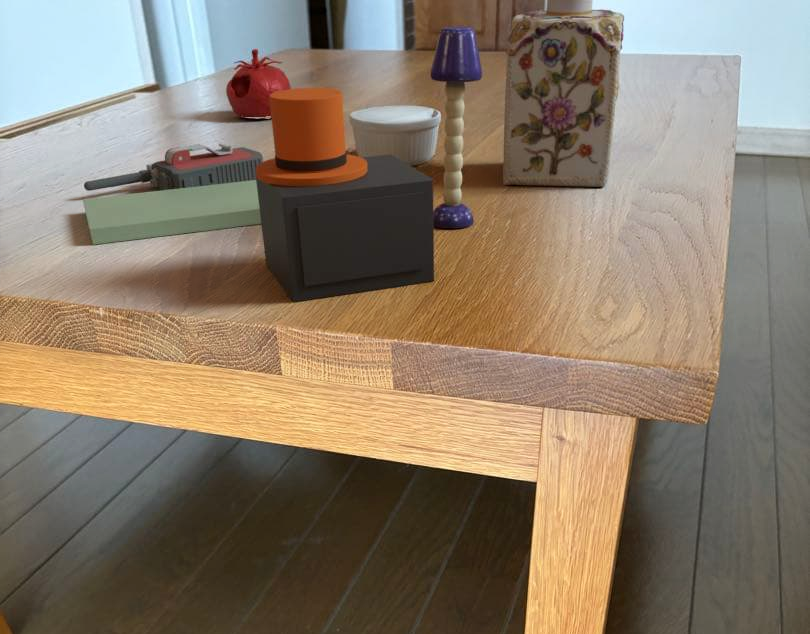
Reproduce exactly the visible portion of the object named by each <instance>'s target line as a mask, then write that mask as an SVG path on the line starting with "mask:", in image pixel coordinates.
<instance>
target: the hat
mask: <svg viewBox="0 0 810 634" xmlns="http://www.w3.org/2000/svg"><path fill="white" fill-rule="evenodd" d="M269 99H270V109H271V128H272V136H273V145H274V146H273V147H274V157H273V158H269V159H267V160H263V162H262V163H260V164H258V165H257V166H256V168H255V169H256V177H257V179H259V180H260V181H262V182H265V183H268V184H273V185H280V186H294V187H307V186H323V185H331V184H338V183H343V182H347V181H351V180H354V179H357V178H360V177H362V176H363V175H365V174H366V173H367V171H368V166H367V161H366V160H365V159H363V158H361V157H359V156H358V155H355V154H349V153H348V154H347V150H346V138H345V137H346V135H345V122H344V121H345V120H344V106H343V93H342V91H341V90H339V89H336V88H331V87H299V88H291V89H288V90H282V91H277V92H274V93H272V94H270V95H269Z"/></svg>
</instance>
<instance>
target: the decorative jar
mask: <svg viewBox="0 0 810 634" xmlns="http://www.w3.org/2000/svg"><path fill="white" fill-rule="evenodd" d="M593 1H594V0H546V10H544V9H540V10H534V11H527V12H525V13H520V14H517V15H515V16H513V18H512V19H511V25H510V28H509V32H510V33H509V35H508V38H507V45H506V49H505V54H506V66H505V67H506V69H505V70H506V71H505V89H504V90H505V91H504V117H503V118H504V120H503V121H504V122H503V123H504V124H503V163H502V164H503V165H502V166H503V167H502V168H503V169H502V173H503V174H502V175H503V176H502V180H503V181H502V182H503V185H505V186H545V187H546V186H547V187H551V186H552V187H553V186H554V187H556V186H557V187H593V188H594V187H598V188H601V187H605V186H606V185H607V183H608V179H609V172H610V163H611V156H612V146H613V135H614V126H615V125H614V124H615V115H616V114H615V113H616V103H617V100H618V97H619V88H620V82H619V81H620V76H619V75H620V71H619V68H620V59H621V51H622V50H623V44H622V43H623V41H624V31H625V30H624V28H625V27H624V21H625V15H624V14H622V13H621V12H616V11H612V10H611V9H593Z"/></svg>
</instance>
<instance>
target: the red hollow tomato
mask: <svg viewBox="0 0 810 634" xmlns="http://www.w3.org/2000/svg"><path fill="white" fill-rule="evenodd" d="M258 54H259V50H258V48H254V49H252V50H251V57H252V59H251V61H250V62H251V64H250V63H247V62H246V61H244V60H238V61H235V62H234V64H238V63H239V64H238V65H236V67H235V68H233V70H234V71H236V72H235V74H233V76H232V77H231V79H230V80H229V81H228V82H227V84H226V88H225V94H226V98H227V101H228V104H229V106H230V107H231V110H232V112H234V113H235V114H236V116H238V115H239V116H238V117H240V116H243V117H266V116H271V109H270V99H269V95H270V94H272V93H274V92H277V91H282V90H288V89H292V87H291V84H290V80H289V79H288V76H287V74H286V73H285V72H284V71H283V70H281V69H280V68H278V67H276V66H273V65H272V64H274V63H275V64H280V65H281V64H282V63H283V61H277V60H273V59H271V58H269V57H268V56H264V57H263V58H262V59H260V60H259V55H258ZM266 60H267V61H270V62H265V61H266Z"/></svg>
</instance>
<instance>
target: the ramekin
mask: <svg viewBox="0 0 810 634" xmlns="http://www.w3.org/2000/svg"><path fill="white" fill-rule="evenodd" d="M441 122H442V114H441V112H440V111H439V110H437V109H435V108H432V107H427V106H420V105H385V106H374V107H368V108H362V109H359V110H355V111H352V112H350V114H349V125H350V126H351V127H352V133H353V140H354V144H355V150H356V154H357V156H358V157H361V158H363V157H372V156H382V155H393V156H395V157H396V158H398V159H400V160H401V161H403V162H405V163H406V164H408V165H410V166H411V167H413V166H418V165H423V164H425V163H427V162H429V161H431V160H432V158H433V156H435V153H436V148H437V141H438V136H439V127H440V124H441Z"/></svg>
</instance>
